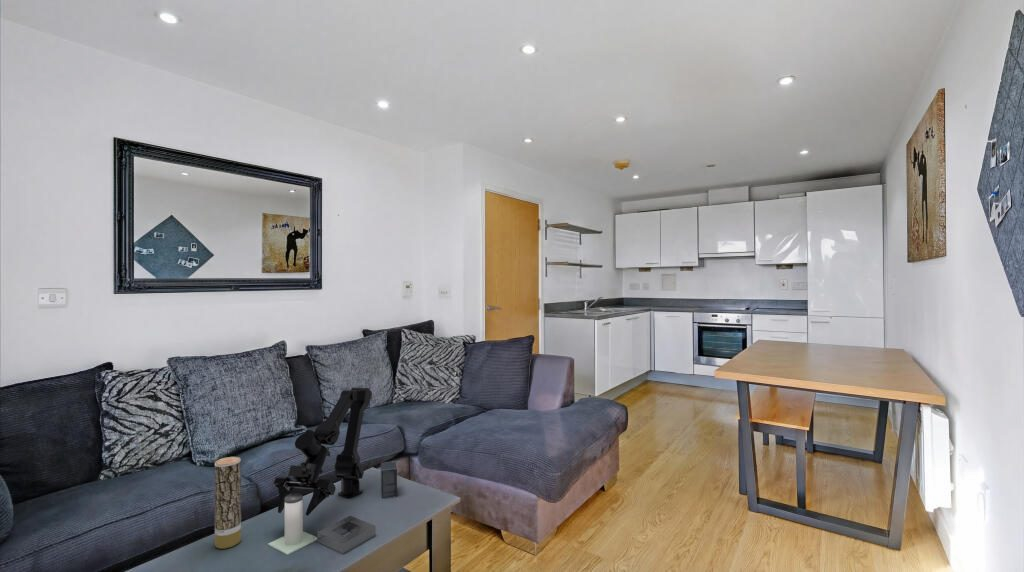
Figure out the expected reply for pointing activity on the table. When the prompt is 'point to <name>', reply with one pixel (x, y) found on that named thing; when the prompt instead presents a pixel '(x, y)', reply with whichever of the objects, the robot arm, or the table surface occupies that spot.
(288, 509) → the plug
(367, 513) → the table surface
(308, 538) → the mat
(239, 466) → the bark textured cylinder
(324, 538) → the frame
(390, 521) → the table surface
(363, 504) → the table surface
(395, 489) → the box
